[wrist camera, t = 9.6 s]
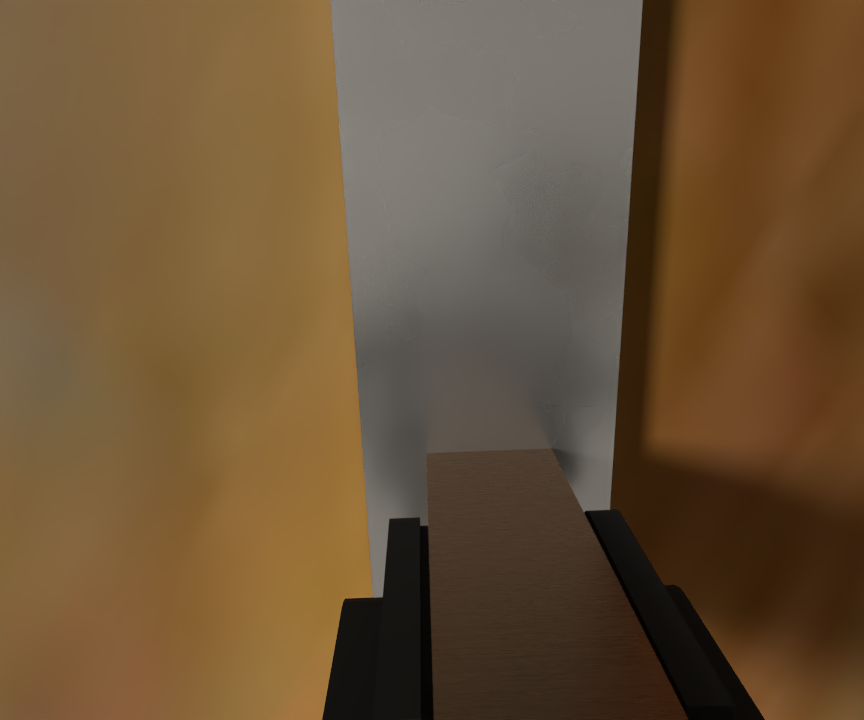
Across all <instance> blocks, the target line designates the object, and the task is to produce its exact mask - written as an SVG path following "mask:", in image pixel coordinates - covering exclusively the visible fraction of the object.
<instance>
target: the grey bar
mask: <svg viewBox="0 0 864 720" xmlns="http://www.w3.org/2000/svg"><path fill="white" fill-rule="evenodd" d="M642 5H643V0H331V14H332V28H333V42H334V56H335V70H336V84H337V98H338V112H339V126H340V140H341V154H342V168H343V182H344V196H345V210H346V224H347V238H348V252H349V266H350V280H351V293H352V307H353V321H354V335H355V349H356V363H357V377H358V391H359V405H360V419H361V433H362V447H363V461H364V475H365V489H366V503H367V517H368V531H369V545H370V559H371V573H372V587H373V598H376V597H383V587H384V575H385V563H386V551H387V539H388V527H389V519H391V518H416V517H420V526H426V525H428V536H429V570H430V605H431V639H432V673H433V707H434V720H689V719H688V717H687V715H686V713H685V711H684V709H683V707H682V706H681V704H680V702H679V700H678V698H677V696H676V694H675V692H674V690H673V688H672V686H671V684H670V682H669V680H668V678H667V676H666V674H665V672H664V670H663V668H662V666H661V664H660V662H659V660H658V658H657V656H656V654H655V652H654V650H653V648H652V646H651V644H650V642H649V640H648V638H647V636H646V634H645V632H644V630H643V628H642V626H641V624H640V622H639V620H638V619H637V617H636V615H635V613H634V611H633V609H632V607H631V605H630V603H629V601H628V599H627V597H626V595H625V593H624V591H623V589H622V587H621V585H620V583H619V581H618V579H617V577H616V575H615V573H614V571H613V569H612V567H611V565H610V563H609V561H608V559H607V557H606V555H605V553H604V551H603V549H602V547H601V545H600V543H599V541H598V539H597V537H596V535H595V533H594V532H593V530H592V528H591V526H590V524H589V522H588V520H587V518H586V516H585V514H584V512H585V511H591V510H610V499H611V484H612V469H613V453H614V438H615V422H616V407H617V391H618V376H619V360H620V345H621V329H622V314H623V298H624V283H625V267H626V252H627V237H628V221H629V206H630V190H631V175H632V159H633V144H634V128H635V113H636V97H637V82H638V66H639V51H640V35H641V20H642Z"/></svg>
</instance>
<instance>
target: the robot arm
mask: <svg viewBox="0 0 864 720" xmlns="http://www.w3.org/2000/svg"><path fill="white" fill-rule="evenodd" d="M584 514H585V516H586V518H587V520H588V522H589V524H590V526H591V528H592V530H593V532H594V533H595V535H596V537H597V539H598V541H599V543H600V545H601V547H602V549H603V551H604V553H605V555H606V557H607V559H608V561H609V563H610V565H611V567H612V569H613V571H614V573H615V575H616V577H617V579H618V581H619V583H620V585H621V587H622V589H623V591H624V593H625V595H626V597H627V599H628V601H629V603H630V605H631V607H632V609H633V611H634V613H635V615H636V617H637V619H638V620H639V622H640V624H641V626H642V628H643V630H644V632H645V634H646V636H647V638H648V640H649V642H650V644H651V646H652V648H653V650H654V652H655V654H656V656H657V658H658V660H659V662H660V664H661V666H662V668H663V670H664V672H665V674H666V676H667V678H668V680H669V682H670V684H671V686H672V688H673V690H674V692H675V694H676V696H677V698H678V700H679V702H680V704H681V706H682V707H683V709H684V711H685V713H686V715H687V717H688V719H689V720H765V719H764V718H763V716H762V714H761V713H760V711H759V710H758V708H757V707H756V705H755V703H754V702H753V700H752V699H751V697H750V696H749V694H748V692H747V691H746V689H745V688H744V686H743V685H742V683H741V681H740V680H739V678H738V677H737V675H736V674H735V672H734V670H733V669H732V667H731V666H730V664H729V663H728V661H727V659H726V658H725V656H724V655H723V653H722V652H721V650H720V648H719V647H718V645H717V644H716V642H715V641H714V639H713V637H712V636H711V634H710V633H709V631H708V630H707V628H706V626H705V625H704V623H703V622H702V620H701V619H700V617H699V615H698V614H697V612H696V611H695V609H694V608H693V606H692V604H691V603H690V601H689V600H688V598H687V597H686V595H685V594H684V592H683V591H682V590H681V589H680V588H679V587H677V586H675V585H665V586H664V585H663V583H662V582H661V580H660V578H659V577H658V575H657V573H656V572H655V570H654V568H653V567H652V565H651V563H650V562H649V560H648V558H647V557H646V555H645V553H644V552H643V550H642V548H641V547H640V545H639V543H638V542H637V540H636V538H635V537H634V535H633V533H632V532H631V530H630V528H629V527H628V525H627V523H626V521H625V520H624V518H623V516H622V515H621V513H620V512H619V511H618V510H591V511H585V512H584ZM322 720H434V707H433V673H432V639H431V605H430V570H429V536H428V525H426V526H420V517H416V518H391V519H389V527H388V539H387V551H386V563H385V575H384V587H383V597H376V598H352V599H345V600H344V602H343V606H342V611H341V616H340V622H339V628H338V633H337V639H336V645H335V650H334V656H333V662H332V668H331V673H330V679H329V685H328V690H327V696H326V702H325V708H324V713H323V719H322Z"/></svg>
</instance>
